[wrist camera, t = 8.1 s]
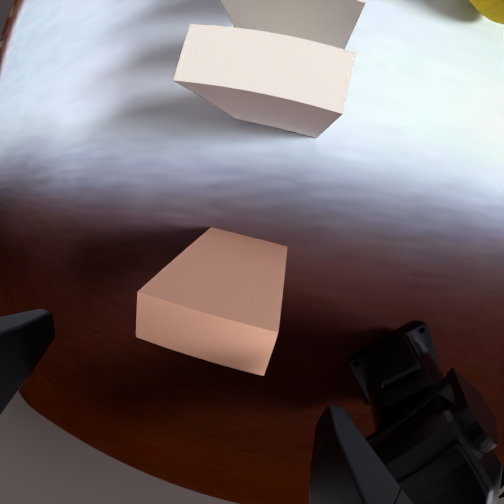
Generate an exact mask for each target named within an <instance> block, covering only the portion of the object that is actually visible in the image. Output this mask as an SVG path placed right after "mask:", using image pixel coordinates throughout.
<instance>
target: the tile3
mask: <svg viewBox="0 0 504 504" xmlns="http://www.w3.org/2000/svg"><path fill="white" fill-rule="evenodd" d="M220 1H221V2H222V4H223V6H224V8H225V10H226V12H227V14H228V16H229V17H230V19H231V21H232V23H233V25H234V27H235V28H243V29H251V30H258V31H264V32H271V33H276V34H282V35H287V36H292V37H297V38H301V39H306V40H310V41H314V42H318V43H322V44H326V45H330V46H333V47H337V48H340V49H345V47H346V45H347V42H348V40H349V38H350V36H351V34H352V31H353V29H354V27H355V25H356V23H357V20H358V18H359V16H360V14H361V12H362V9H363V7H364V5H365V2H366V0H220Z"/></svg>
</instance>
